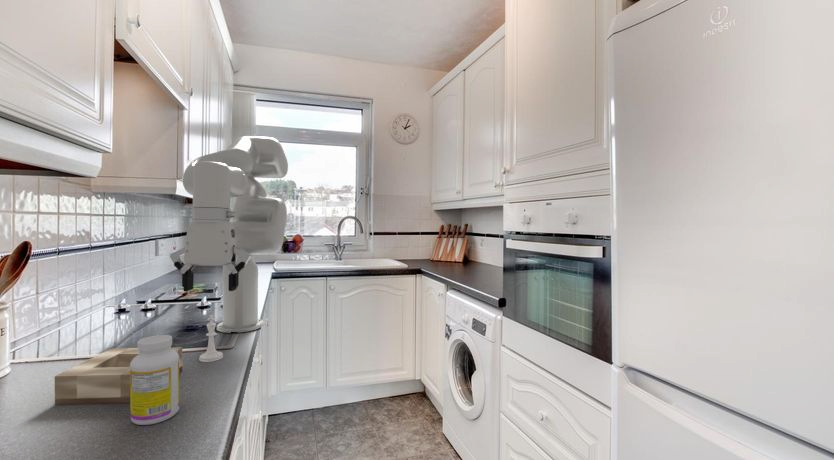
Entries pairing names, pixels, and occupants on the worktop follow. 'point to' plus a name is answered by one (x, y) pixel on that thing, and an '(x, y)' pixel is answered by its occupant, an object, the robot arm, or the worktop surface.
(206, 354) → the chess piece
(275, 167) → the robot arm
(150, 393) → the supplement bottle
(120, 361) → the socket block
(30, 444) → the worktop surface
